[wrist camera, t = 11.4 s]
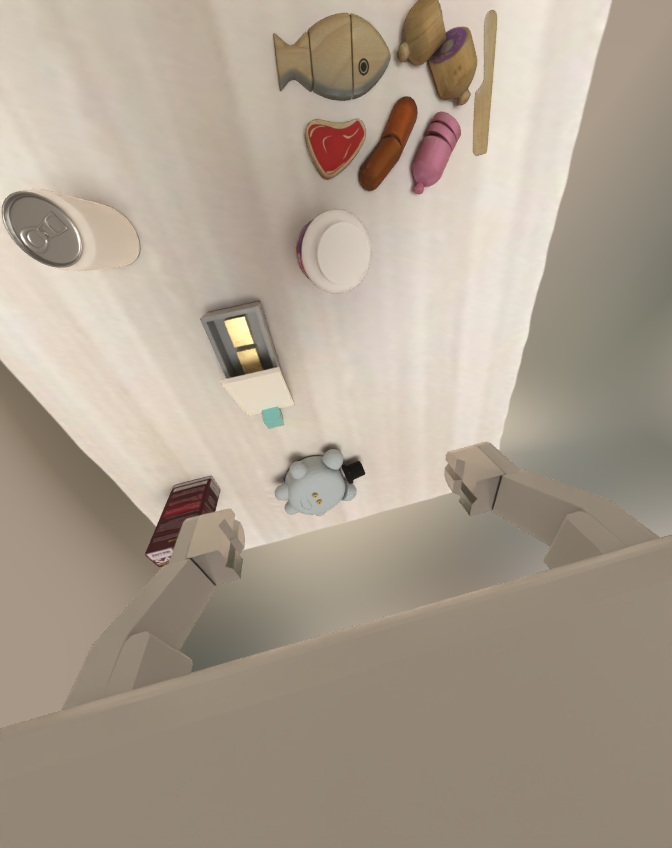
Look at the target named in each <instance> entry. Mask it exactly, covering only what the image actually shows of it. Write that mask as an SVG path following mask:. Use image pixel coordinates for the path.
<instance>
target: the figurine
mask: <svg viewBox="0 0 672 848" xmlns="http://www.w3.org/2000/svg"><path fill="white" fill-rule="evenodd" d="M342 464H343V455H342V453H341V452H340V451H339V450H336V449H330V450H328V451H327V452H325V454H324V456H312V457H308V458H305V459H303V460H301V461H295V462H294V463H292V464H291V465H290V467H289V471H288V473H287V475H286V477H285V478H284V481H285V484H282V485H280V486H279V487H277V488H276V490H275V496H276V498H277V499H278V500H287V499H288V500H289V501H288V502H287V503H286V504H285V511H286V512H287V513H288V514H290V515H291V514H296V513H298V512H300V513H303V514H308V515H314V514H315V515H317V516H322V515H324V514H325V513H326V511H328V510H330V509H332V508H333V507H334V506H336V505H337V504H338V503H339V502H340V501H341V500H342V501H350V500H352V499H353V498H354V497H355V495H356V488H355V486H354V485H353V484H352V483H353V480H354V479H356V478H358V477H361V476H363V475H365V471H364V469H363V466H362V464H361V463H360V461H357V462H355V463H353V464H351V465H349V466H346V465H345V464H344V465H342ZM341 465H342V469H343V472H344V474H345V476H346V478H347V481H348V482H345V481H344V478H343V475H342V473H341V471H340V469H339V468H340V467H341Z"/></svg>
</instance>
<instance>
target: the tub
mask: <svg viewBox="0 0 672 848" xmlns="http://www.w3.org/2000/svg"><path fill="white" fill-rule="evenodd" d="M242 314H246V316H247V319H248V321H249V324H250V327H251V330H252V333H253V336H254V339H255V340H254V343H253V344H249V345H244V346H240V347H235V348H234V345H233V343H232V340H231V338H230V335H229V332H228V330H227V327H226V325H225V322H224V320H225V319H226V318H228V317H233V316H237V315H242ZM200 320H201V322H202V324H203V327H204V329H205V331H206V333H207V336H208V338H209V340H210V342H211V345H212V347H213V349H214V351H215V354H216V356H217V358H218V360H219V363H220V365H221V367H222V369H223V372H224V374H225V376H226V378H227V379H228V378H233V377H237V376H241V375H245V373H244V370H243V368H242V365H241V363H240V360H239V358H238V355H237V353H236V352H237V350H238V348H242V347H246V346H251V345H255V344H256V345H257V348H258V351H259V353H260V356H261V359H262V362H263V365H264V370H268V369H272V368H277V367H279V368H280V371H281V367H280V364H279V361H278V357H277V354H276V351H275V347H274V344H273V341H272V338H271V334H270V331H269V328H268V325H267V321H266V318H265V315H264V312H263V308H262V305H261V302H260V301H257V302H253V303H248V304H243V305H239V306H234V307H230V308H225V309H220V310H216V311H211V312H207V313H206V314H205V315H204V316H202V317H201V318H200Z"/></svg>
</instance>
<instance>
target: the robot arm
mask: <svg viewBox="0 0 672 848" xmlns="http://www.w3.org/2000/svg"><path fill="white" fill-rule="evenodd" d="M446 461H447V462H448V465H447V466H446V467H445V474H444V475H445V479H446V482H447V484H448V486H449V488H450V489H451V491H452V492H453V493H455V494H458V495H460V498H459V502H460V503H461V504H462V506H463V507H464V509H465V510H466V511H467V513H468V514H469V516H472V515H476V514H481V513H485V512H489V511H493V512H494V513H495V514H497V515H499V516H500V517H502V518H503V519H505V520H507V521H508V522H510V523H512V524H514V525H515V526H517V527H518V528H520V529H522V530H523V531H525V532H527V533H528V534H530V535H532V536H533V537H535V538H537V539H538V540H540V541H542V542H543V543H545V544H547V545H548V546H550V547H549V549H548V551H547V553H546V555H545V557H544V563H545V564H546V565H547V566H548V567H549V569H550V570H546V571H543V572H539V573H536V574H532V575H529V576H526V577H522V578H519V579H515V580H512V581H508V582H505V583H501V584H498V585H494V586H491V587H487V588H484V589H481V590H477V591H474V592H470V593H467V594H463V595H460V596H456V597H453V598H449V599H446V600H442V601H439V602H435V603H432V604H428V605H425V606H421V607H418V608H415V609H411V610H408V611H404V612H401V613H398V614H394V615H390V616H387V617H383V618H380V619H376V620H373V621H370V622H366V623H363V624H359V625H356V626H352V627H349V628H345V629H342V630H339V631H335V632H332V633H328V634H324V635H321V636H318V637H314V638H311V639H308V640H304V641H301V642H297V643H293V644H290V645H287V646H283V647H279V648H276V649H272V650H269V651H266V652H263V653H259V654H255V655H252V656H248V657H245V658H241V659H238V660H235V661H231V662H227V663H224V664H221V665H217V666H214V667H210V668H207V669H203V670H200V671H196V672H193V673H191V669H192V663H193V662H192V661H191V659H190V658H188V657H187V656H185V655H184V654H182V653H181V652H179V650H180V648H181V646H182V645H183V643H184V641H185V640H186V638H187V636H188V635H189V633H190V631H191V630H192V628H193V626H194V624H195V623H196V621H197V619H198V618H199V616H200V614H201V612H202V611H203V609H204V607H205V606H206V604H207V602H208V600H209V599H210V597H211V596H212V594H213V592H214V591H215V589H216V586H217V585H221V584H224V583H227V582H230V581H234V580H237V579H240V578H241V571H242V563H243V559H242V558H241V556H240V555H239V554H240V553H241V551H242V550H243V549H244V545H245V535H244V530H243V527H242V525H241V523H240V522H239V521H237V520H234V518H235V514H234V512H233V511H232V509H225V510H221V511H216V512H212V513H208V514H203V515H200V516H196V517H192V518H187V519H186V520H185V521H184V522H183V524H182V527H181V530H180V533H179V536H178V538H177V541H176V544H175V547H174V550H173V552H172V555H171V558H170V561H169V564H167V565H164V566H163V567H162V568H161V569H160V570H159V571H158V572H157V574H156V575H155V576H154V577H153V578H152V579H151V580H150V581H149V582H148V584H147V585H146V586H145V587H144V588H143V589H142V590H141V591H140V593H139V594H138V595H137V596H136V597H135V598H134V599H133V600H132V601H131V602H130V604H129V605H128V606H127V607H126V608H125V609H124V610H123V611H122V612H121V614H120V615H119V616H118V617H117V618H116V619H115V620H114V621H113V622H112V623H111V625H110V626H109V627H108V628H107V629H106V630H105V631H104V632H103V633H102V635H101V636H100V637H99V638H98V639H97V640H96V641H95V642H94V644H92V647H91V649H90V651H89V653H88V655H87V657H86V659H85V661H84V664H83V666H82V668H81V670H80V672H79V674H78V676H77V678H76V681H75V682H74V685H73V687H72V689H71V691H70V693H69V695H68V697H67V699H66V701H65V704H64V706H63V708H62V710H61V711H58V712H54V713H51V714H48V715H44V716H41V717H37V718H34V719H30V720H27V721H23V722H20V723H17V724H13V725H9V726H6V727H2V728H0V848H672V534H671V535H668V536H664V537H661V538H660V537H659V536H657V535H656V534H655V533H653V532H652V531H651V530H649V529H648V528H647V527H645V526H644V525H643V524H641V523H640V522H639V521H637V520H636V519H635V518H634V517H632V516H631V515H629V514H628V513H627V512H626V511H624V510H623V509H622V508H620V507H619V506H618V505H616V504H615V503H614V502H612V501H610V500H607V499H605V498H602V497H599V496H596V495H594V494H591V493H588V492H585V491H582V490H580V489H577V488H574V487H571V486H569V485H566V484H563V483H560V482H558V481H555V480H552V479H550V478H546V477H544V476H541V475H538V474H536V473H533V472H530V471H527V470H520V469H519V468H518V467H516V466H515V465H514V464H513V463H512V462H511V461H510V460H509V459H508V458H506V457H505V456H504V455H503V454H502V453H501V452H500V451H499V450H498V449H496V448H495V447H494V446H493V445H492V444H491V443H489V442H483V443H479V444H476V445H473V446H468V447H464V448H460V449H457V450H453V451H449V452H448V453H447V454H446Z"/></svg>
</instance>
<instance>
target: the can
mask: <svg viewBox="0 0 672 848" xmlns="http://www.w3.org/2000/svg"><path fill="white" fill-rule="evenodd" d="M2 218H3V222H4V225H5V227H6V229H7V231H8V233H9V235H10V236H11V238H12V239H13V240H14V242H15V243H16V244H17V245H18V246H19V247H20V248H21V249H22V250H23V251H24V252H25V253H27V254H28V255H29V256H31V257H32V258H34V259H35V260H37V261H39V262H41V263H43V264H45V265H48V266H52V267H56V268H58V269H62V270H66V271H86V270H95V269H104V268H113V267H121V266H126V265H129V264H131V263H133V262H134V261H135V260H136V259H137V257H138V255H139V250H140V244H139V239H138V236H137V233H136V231H135V229H134V228H133V226H132V225H131V223H130V222H129V221H128V220H127V219H126V218H125V217H124V216H123V215H122V214H121V213H120V212H118V211H117V210H115V209H113V208H111V207H109V206H106V205H103V204H100V203H96V202H92V201H88V200H84V199H80V198H76V197H72V196H68V195H64V194H60V193H56V192H52V191H48V190H43V189H26V190H23V191H19V192H15V193H12V194H10V195H9V196H8V197H7V198H6V199H5V200H4V202H3V205H2Z"/></svg>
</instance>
